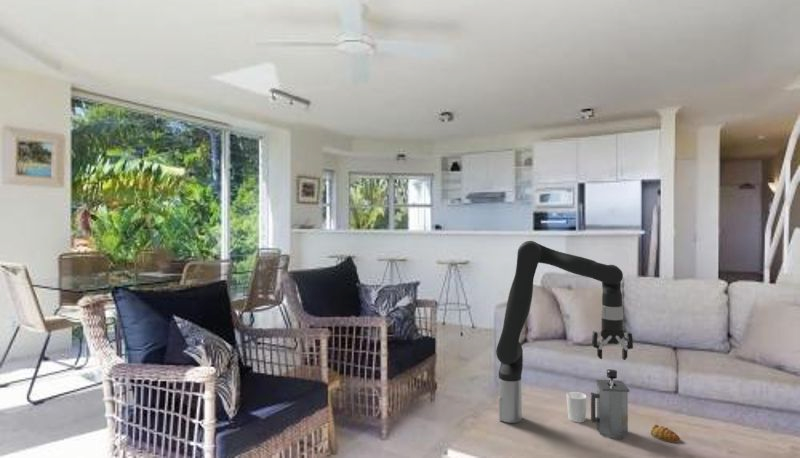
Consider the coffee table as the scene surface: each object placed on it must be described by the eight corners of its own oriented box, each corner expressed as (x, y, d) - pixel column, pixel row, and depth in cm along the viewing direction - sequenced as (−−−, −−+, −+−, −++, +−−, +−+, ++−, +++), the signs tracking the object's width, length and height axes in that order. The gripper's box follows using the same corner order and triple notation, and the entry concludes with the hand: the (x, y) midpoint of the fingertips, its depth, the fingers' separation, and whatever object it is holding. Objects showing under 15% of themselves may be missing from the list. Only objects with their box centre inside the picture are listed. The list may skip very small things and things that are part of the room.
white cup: (583, 415, 198) (583, 391, 198) (589, 423, 190) (589, 399, 190) (564, 414, 199) (564, 391, 198) (569, 423, 191) (569, 398, 191)
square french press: (594, 437, 178) (594, 388, 178) (588, 425, 188) (588, 379, 187) (630, 439, 176) (630, 389, 175) (622, 427, 186) (621, 380, 185)
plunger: (603, 413, 178) (603, 373, 178) (598, 405, 186) (598, 367, 186) (626, 414, 177) (626, 374, 176) (620, 406, 185) (619, 367, 184)
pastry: (683, 440, 175) (683, 430, 175) (674, 446, 171) (674, 435, 171) (657, 431, 182) (657, 421, 182) (648, 436, 179) (648, 426, 178)
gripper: (595, 318, 178) (595, 361, 178) (635, 319, 176) (635, 362, 176) (590, 314, 185) (590, 355, 186) (628, 315, 183) (628, 356, 183)
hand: (612, 358), depth 181 cm, fingers open, 8 cm apart
